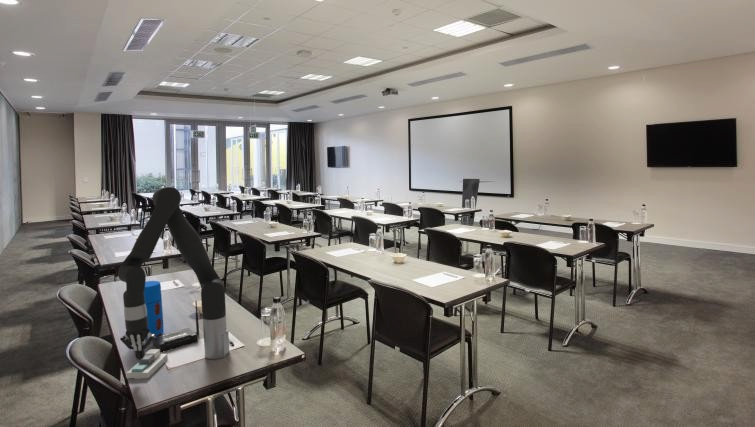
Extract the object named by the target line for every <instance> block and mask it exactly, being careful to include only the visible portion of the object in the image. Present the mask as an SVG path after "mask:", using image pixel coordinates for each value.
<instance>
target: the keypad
mask: <svg viewBox="0 0 755 427" xmlns="http://www.w3.org/2000/svg"><path fill="white" fill-rule="evenodd" d="M168 358H169V357H168V353H160V356H159V357H158V358H157V359H156V360H154V362H153V363H152V364H151V365H149V366H148V367H147V368H146V369H145V370H144V371H143V372H132V368H134V367H135V366H136V365H137V364H139V361H138V362H137V363H136V364H134V365H133V366H132V367H131V368H130V369H129V370H128V371H127V372H126V379H127V378H134V379H133V380H139V379H140V380H145V379H146V380H149V379H150V377H152V375H154V374H155V372H157V370H159V368H160V367H162V366H163V364H165V363H166V362H167V361H168V360H167V359H168ZM166 360H167V361H166ZM165 361H166V362H165Z"/></svg>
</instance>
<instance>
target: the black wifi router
mask: <svg viewBox="0 0 755 427" xmlns="http://www.w3.org/2000/svg"><path fill="white" fill-rule="evenodd" d="M198 312H199V311H198V301H197V300H195V327H196V331H193V330H192V329H191V328H189V327H187V328H183V329H179V330H175V331H172V332H168V333H163V334H162V335H161V336H157V337H155V338H154V339H153V341H152V342H151V343H152V347H153V348H155V349H160V353H161V352H162V353H164V352H163V351H165V352H168V350H169V351H171V349H172V350H174V349H178V348H181V347H184V346H189V345H192V344H194V343H195V344H196V343H198V340H199V338H198V335H200V330H199V329H200V324H199V314H198Z"/></svg>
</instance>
